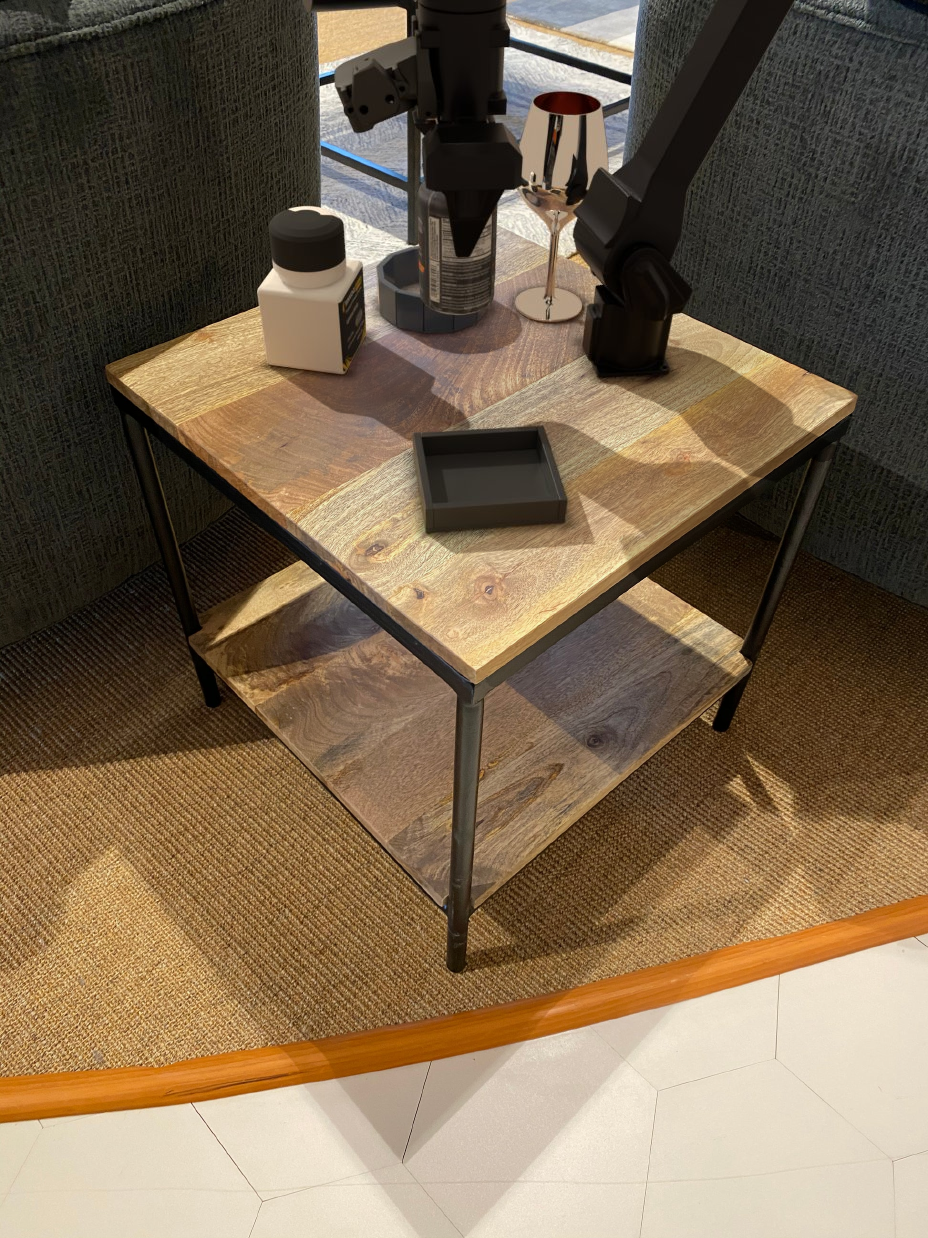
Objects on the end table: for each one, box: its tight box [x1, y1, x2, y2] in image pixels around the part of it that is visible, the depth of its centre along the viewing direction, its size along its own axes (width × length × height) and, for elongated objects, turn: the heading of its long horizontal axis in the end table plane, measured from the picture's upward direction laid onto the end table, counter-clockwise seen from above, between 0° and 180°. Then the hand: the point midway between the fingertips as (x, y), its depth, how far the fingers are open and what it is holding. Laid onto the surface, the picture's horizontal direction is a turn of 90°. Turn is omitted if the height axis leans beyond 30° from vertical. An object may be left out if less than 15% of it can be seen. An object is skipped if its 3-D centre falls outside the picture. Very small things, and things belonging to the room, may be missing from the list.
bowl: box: [375, 245, 489, 334], centre depth 92 cm, size 10×10×4 cm
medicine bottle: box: [257, 205, 367, 375], centre depth 83 cm, size 7×7×12 cm
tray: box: [412, 424, 569, 534], centre depth 73 cm, size 10×9×2 cm
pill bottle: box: [417, 180, 499, 315], centre depth 74 cm, size 6×6×11 cm
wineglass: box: [514, 90, 609, 323], centre depth 87 cm, size 8×8×18 cm
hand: (458, 237), depth 75 cm, fingers closed on pill bottle, 6 cm apart
